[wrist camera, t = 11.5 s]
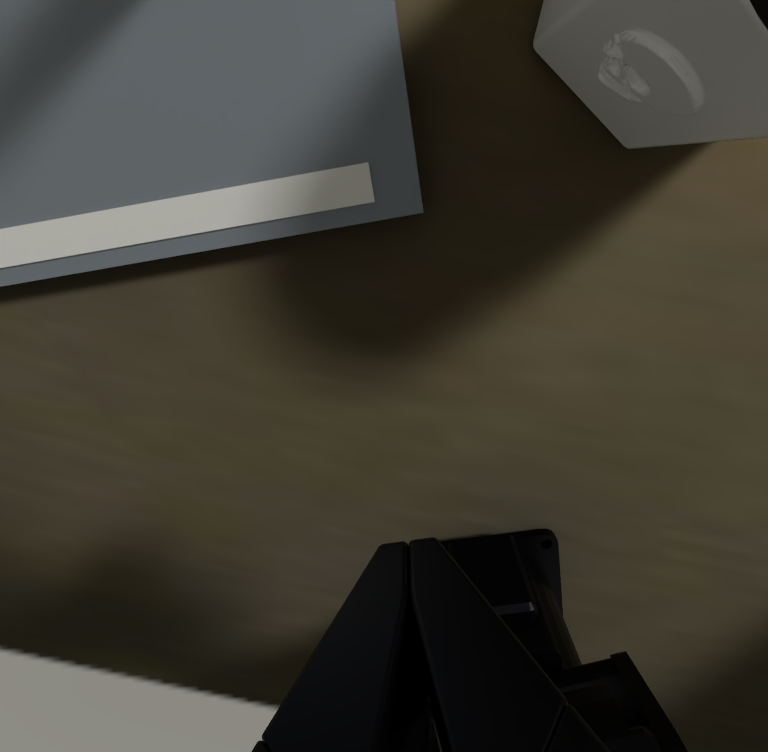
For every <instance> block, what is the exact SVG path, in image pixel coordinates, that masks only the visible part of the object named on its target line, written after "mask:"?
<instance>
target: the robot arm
mask: <svg viewBox="0 0 768 752" xmlns="http://www.w3.org/2000/svg"><path fill="white" fill-rule="evenodd" d="M546 539H547V540H549V541H548V542H546V543H541V542H542V541H543V540H546ZM428 695H429V700H430V701H428ZM262 740H263V741H258V742H257V744H256V745H255V747H254V749H253V750H252V752H687V750H686V748H685V746H684V744H683V742H682V741H681V739H680V737H679V735H678V734H677V732H676V730H675V729H674V727H673V726H672V724H671V722H670V721H669V719H668V718H667V716H666V714H665V713H664V711H663V710H662V708H661V706H660V705H659V703H658V702H657V700H656V698H655V697H654V695H653V694H652V692H651V691H650V689H649V687H648V686H647V684H646V683H645V681H644V679H643V678H642V676H641V675H640V673H639V671H638V670H637V668H636V667H635V665H634V663H633V662H632V660H631V659H630V657H629V655H628V654H627V652H626V651H625V652H620V653H616V654H612V655H610V658H609V659H605V660H601V661H596V662H592V663H588V664H584V665H582V664H581V661H580V659H579V656H578V654H577V651H576V649H575V646H574V644H573V641H572V639H571V636H570V634H569V631H568V628H567V626H566V623H565V621H564V618H563V609H562V594H561V579H560V564H559V549H558V541H557V538H556V536H555V534H554V533H553V532H552V531H551V530H549V529H538V530H531V531H523V532H516V533H509V534H502V535H494V536H487V537H480V538H472V539H465V540H458V541H450V542H443V543H440V542H439V540H438V539H436V538H434V537H431V538H424V539H416V540H412V541H410V543H409V546H408V544H407V543H406V542H404V541H402V542H394V543H387V544H382V545H381V546H379V547H378V549H377V551H376V552H375V554H374V555H373V557H372V559H371V560H370V562H369V563H368V565H367V567H366V568H365V570H364V571H363V573H362V575H361V576H360V578H359V580H358V581H357V583H356V584H355V586H354V588H353V589H352V591H351V592H350V594H349V596H348V597H347V599H346V601H345V602H344V604H343V605H342V607H341V609H340V610H339V612H338V613H337V615H336V617H335V618H334V620H333V622H332V623H331V625H330V626H329V628H328V630H327V631H326V633H325V634H324V636H323V638H322V639H321V641H320V643H319V644H318V646H317V647H316V649H315V651H314V652H313V654H312V655H311V657H310V659H309V660H308V662H307V664H306V665H305V667H304V668H303V670H302V672H301V673H300V675H299V676H298V678H297V680H296V681H295V683H294V685H293V686H292V688H291V689H290V691H289V693H288V694H287V696H286V697H285V699H284V701H283V702H282V704H281V706H280V707H279V709H278V710H277V712H276V714H275V715H274V717H273V719H272V720H271V722H270V723H269V725H268V727H267V728H266V730H265V731H264V733H263V735H262Z"/></svg>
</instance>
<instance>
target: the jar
mask: <svg viewBox="0 0 768 752" xmlns="http://www.w3.org/2000/svg"><path fill="white" fill-rule="evenodd" d="M533 47H534V50H535V51H536V52H537V53H538V55H539V56H540V57H541V58H542V59H543V60H544V61H545V62H546V63H547V64H548V65H549V66H550V67H551V68H552V70H553V71H554V72H555V73H556V74H557V75H558V76H559V77H560V78H561V79H562V80H563V81H564V82H565V84H566V85H567V86H568V87H569V88H570V89H571V90H572V91H573V92H574V93H575V94H576V95H577V96H578V98H579V99H580V100H581V101H582V102H583V103H584V104H585V105H586V106H587V107H588V108H589V109H590V110H591V112H592V113H593V114H594V115H595V116H596V117H597V118H598V119H599V120H600V121H601V122H602V123H603V124H604V125H605V127H606V128H607V129H608V130H609V131H610V132H611V133H612V134H613V135H614V136H615V137H616V138H617V139H618V141H619V142H620V143H621V144H622V145H623V146H624V147H625V148H628V149H637V148H649V147H660V146H672V145H684V144H695V143H707V142H719V141H730V140H742V139H754V138H765V137H768V0H543V4H542V8H541V12H540V16H539V20H538V24H537V28H536V32H535V36H534V40H533Z"/></svg>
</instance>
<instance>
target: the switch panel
mask: <svg viewBox="0 0 768 752" xmlns="http://www.w3.org/2000/svg"><path fill="white" fill-rule="evenodd" d="M419 213H424V212H423V205H422V198H421V190H420V183H419V176H418V168H417V161H416V154H415V147H414V139H413V132H412V125H411V117H410V110H409V103H408V95H407V88H406V81H405V74H404V66H403V59H402V52H401V44H400V37H399V30H398V23H397V15H396V8H395V1H394V0H0V287H2V286H7V285H13V284H19V283H25V282H30V281H36V280H42V279H48V278H53V277H59V276H65V275H70V274H76V273H82V272H88V271H93V270H99V269H105V268H110V267H116V266H122V265H128V264H133V263H139V262H145V261H150V260H156V259H162V258H168V257H173V256H179V255H185V254H191V253H196V252H202V251H208V250H213V249H219V248H225V247H231V246H236V245H242V244H248V243H253V242H259V241H265V240H271V239H276V238H282V237H288V236H293V235H299V234H305V233H311V232H316V231H322V230H328V229H334V228H339V227H345V226H351V225H356V224H362V223H368V222H374V221H379V220H385V219H391V218H396V217H402V216H408V215H414V214H419Z"/></svg>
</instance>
